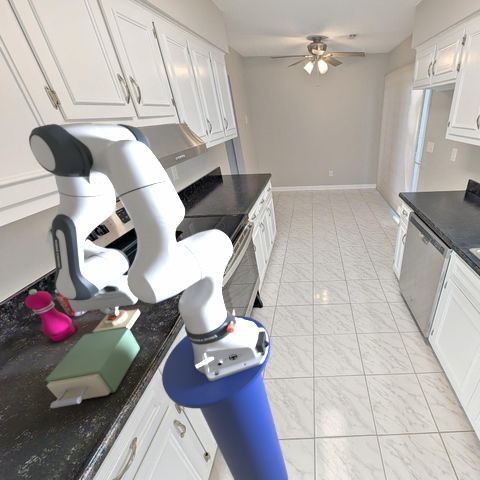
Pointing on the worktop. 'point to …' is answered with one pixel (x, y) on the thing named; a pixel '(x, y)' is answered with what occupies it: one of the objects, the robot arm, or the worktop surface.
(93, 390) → the drawer
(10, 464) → the worktop surface
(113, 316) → the button
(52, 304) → the pepper mill
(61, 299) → the soda can
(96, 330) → the control block
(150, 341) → the worktop surface
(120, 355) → the cabinet
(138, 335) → the worktop surface
